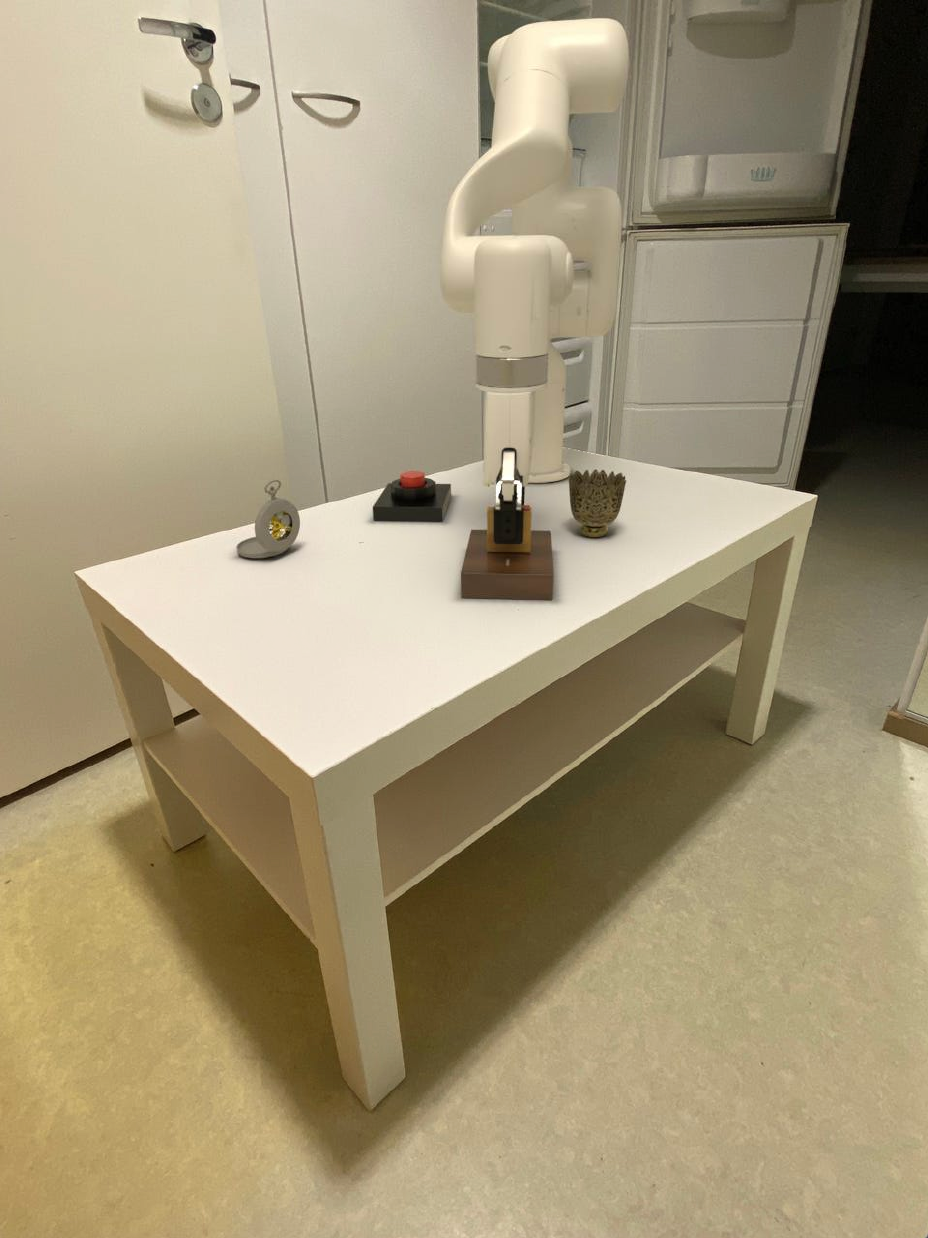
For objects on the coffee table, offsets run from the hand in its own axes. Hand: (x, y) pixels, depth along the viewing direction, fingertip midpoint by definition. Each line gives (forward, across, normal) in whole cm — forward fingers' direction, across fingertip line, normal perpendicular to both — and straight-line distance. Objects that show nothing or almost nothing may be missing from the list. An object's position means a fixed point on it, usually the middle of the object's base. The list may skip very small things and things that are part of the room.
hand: (509, 527), depth 81 cm
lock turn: (+3, +1, 0) cm, 3 cm away
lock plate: (+6, +1, 0) cm, 6 cm away
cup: (+6, -13, +11) cm, 18 cm away
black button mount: (+6, -23, -15) cm, 28 cm away
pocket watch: (+6, -4, -31) cm, 32 cm away
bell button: (+3, -23, -15) cm, 28 cm away
